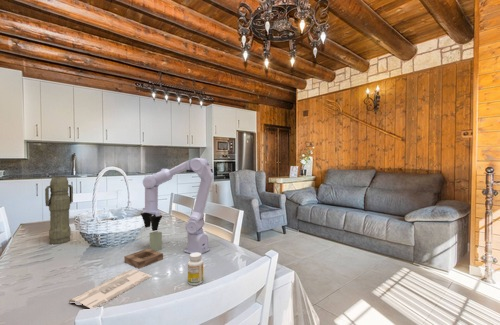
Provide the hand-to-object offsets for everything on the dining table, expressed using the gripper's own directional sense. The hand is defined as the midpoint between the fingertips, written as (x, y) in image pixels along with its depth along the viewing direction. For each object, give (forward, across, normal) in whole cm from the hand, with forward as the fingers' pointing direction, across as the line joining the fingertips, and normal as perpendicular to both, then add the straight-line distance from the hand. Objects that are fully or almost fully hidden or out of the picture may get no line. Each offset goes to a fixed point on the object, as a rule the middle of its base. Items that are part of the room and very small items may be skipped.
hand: (151, 228), depth 115 cm
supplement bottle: (+10, +42, -4) cm, 44 cm away
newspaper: (+11, +25, -25) cm, 37 cm away
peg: (+10, +1, +2) cm, 10 cm away
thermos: (+12, -48, -27) cm, 57 cm away
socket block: (+10, +11, -8) cm, 17 cm away
